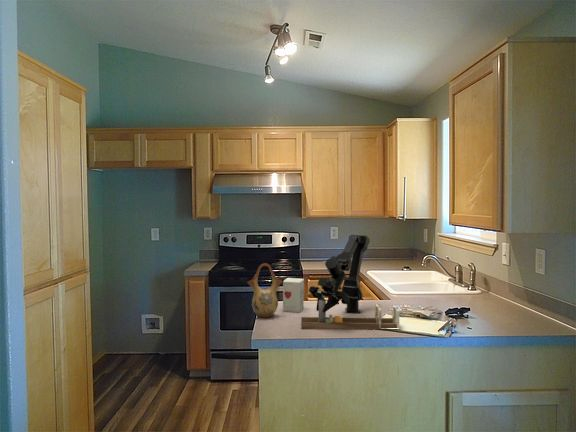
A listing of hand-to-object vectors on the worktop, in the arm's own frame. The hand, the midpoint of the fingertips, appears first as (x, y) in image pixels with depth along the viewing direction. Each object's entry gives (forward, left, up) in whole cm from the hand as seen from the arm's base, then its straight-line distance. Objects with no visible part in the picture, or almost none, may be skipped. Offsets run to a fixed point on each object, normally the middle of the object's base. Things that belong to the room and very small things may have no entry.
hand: (320, 311), depth 164 cm
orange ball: (-3, +8, -5) cm, 9 cm away
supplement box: (-27, -12, -7) cm, 31 cm away
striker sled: (-3, +2, -7) cm, 8 cm away
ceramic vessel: (-15, -25, -7) cm, 30 cm away
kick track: (-3, +12, -7) cm, 14 cm away
